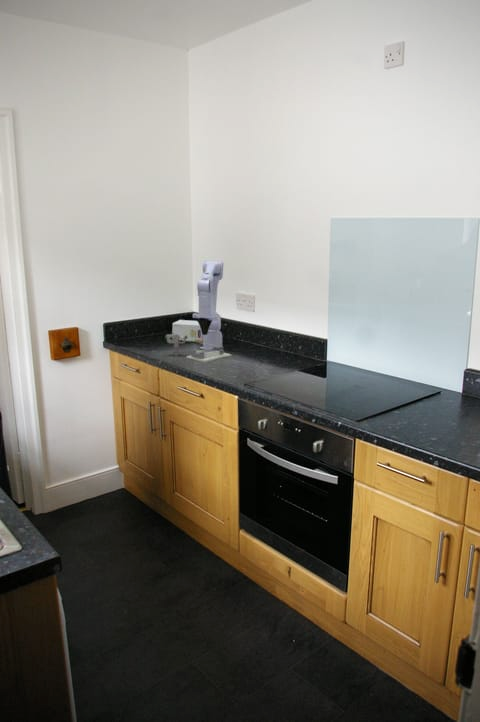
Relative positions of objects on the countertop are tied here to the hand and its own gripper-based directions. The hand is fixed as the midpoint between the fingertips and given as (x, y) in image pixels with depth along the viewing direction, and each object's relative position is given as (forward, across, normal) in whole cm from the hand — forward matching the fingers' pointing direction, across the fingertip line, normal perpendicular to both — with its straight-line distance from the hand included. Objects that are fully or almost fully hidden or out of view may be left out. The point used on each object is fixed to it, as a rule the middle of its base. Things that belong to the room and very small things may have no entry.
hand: (204, 334), depth 276 cm
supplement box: (+10, -36, +24) cm, 45 cm away
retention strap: (+5, +3, -1) cm, 6 cm away
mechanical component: (+10, -10, -9) cm, 17 cm away
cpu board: (+10, +3, 0) cm, 11 cm away
